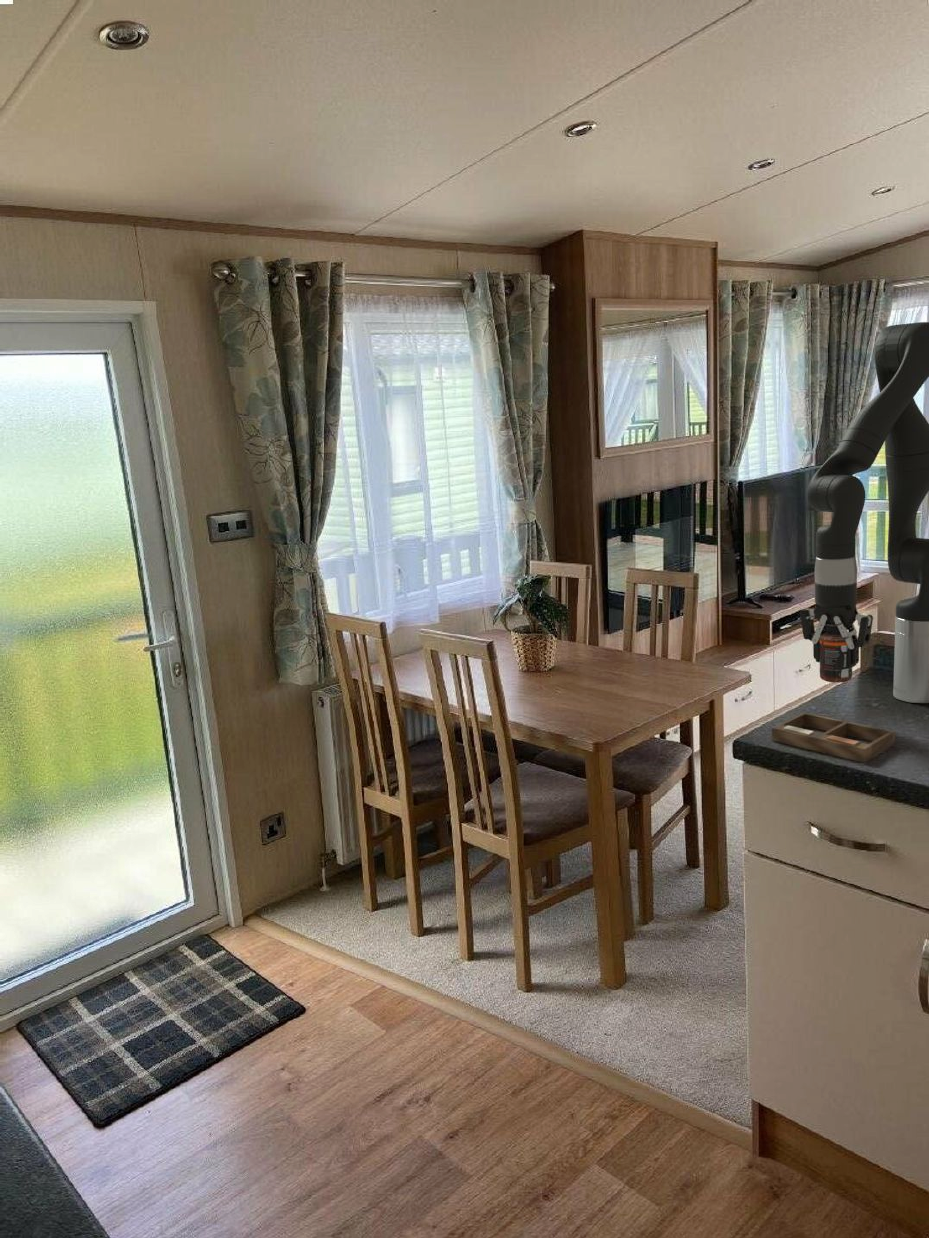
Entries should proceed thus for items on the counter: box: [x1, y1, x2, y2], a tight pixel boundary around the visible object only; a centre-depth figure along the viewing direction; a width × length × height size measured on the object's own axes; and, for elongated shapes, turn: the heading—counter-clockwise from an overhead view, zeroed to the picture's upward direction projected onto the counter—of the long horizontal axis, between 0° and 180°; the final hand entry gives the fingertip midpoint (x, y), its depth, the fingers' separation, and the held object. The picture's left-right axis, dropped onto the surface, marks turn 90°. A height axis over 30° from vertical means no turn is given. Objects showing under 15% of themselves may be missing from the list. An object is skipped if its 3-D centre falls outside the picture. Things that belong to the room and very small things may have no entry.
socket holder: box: [771, 712, 896, 764], centre depth 176 cm, size 18×11×3 cm, turn 41°
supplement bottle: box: [819, 624, 853, 683], centre depth 184 cm, size 6×6×11 cm
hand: (835, 663), depth 185 cm, fingers closed on supplement bottle, 6 cm apart
